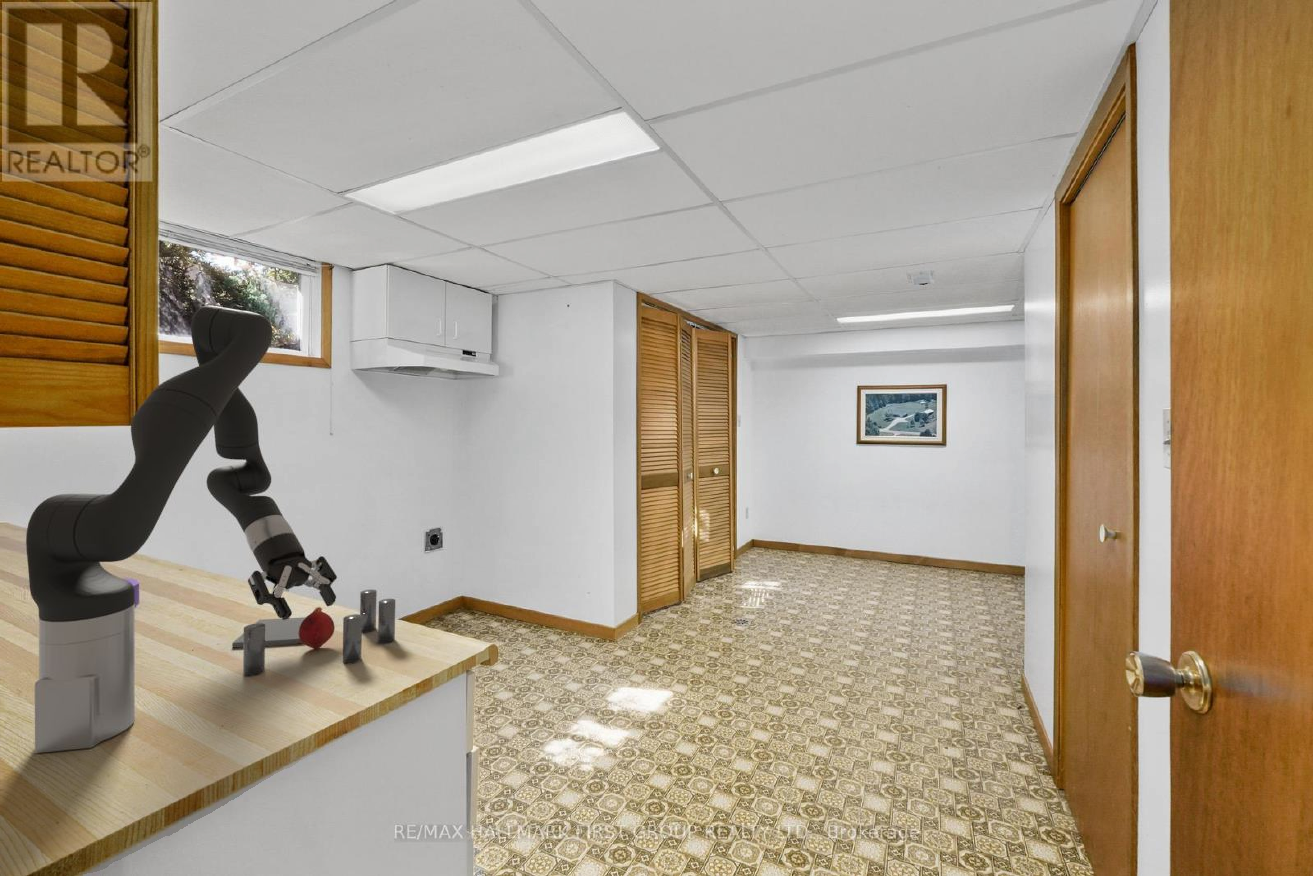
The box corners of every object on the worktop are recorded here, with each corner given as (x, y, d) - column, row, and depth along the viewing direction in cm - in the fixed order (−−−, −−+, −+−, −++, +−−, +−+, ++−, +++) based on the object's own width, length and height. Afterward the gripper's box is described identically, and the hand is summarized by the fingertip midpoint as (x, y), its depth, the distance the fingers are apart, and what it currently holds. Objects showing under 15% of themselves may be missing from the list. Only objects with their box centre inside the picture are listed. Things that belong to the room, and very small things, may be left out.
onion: (317, 657, 102) (317, 614, 102) (290, 653, 103) (291, 611, 103) (340, 644, 108) (341, 604, 107) (315, 641, 109) (316, 601, 108)
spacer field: (381, 666, 99) (382, 622, 99) (239, 676, 93) (240, 630, 93) (401, 624, 118) (402, 588, 118) (284, 631, 112) (285, 593, 112)
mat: (304, 643, 107) (304, 638, 107) (232, 648, 104) (232, 642, 104) (323, 620, 119) (323, 616, 119) (259, 624, 116) (259, 619, 116)
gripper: (243, 538, 102) (281, 610, 98) (317, 525, 115) (354, 589, 111) (226, 562, 105) (262, 634, 100) (301, 547, 118) (336, 610, 113)
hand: (310, 610), depth 106 cm, fingers open, 8 cm apart
